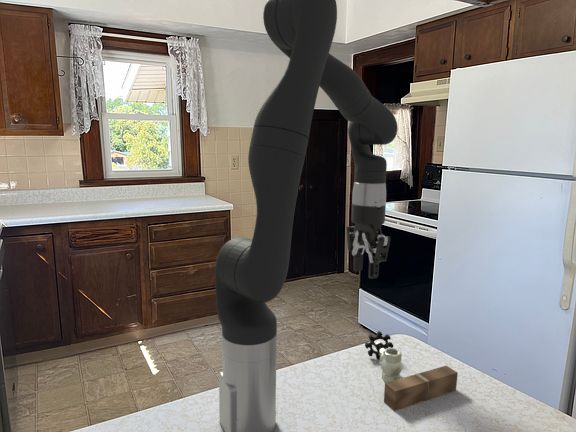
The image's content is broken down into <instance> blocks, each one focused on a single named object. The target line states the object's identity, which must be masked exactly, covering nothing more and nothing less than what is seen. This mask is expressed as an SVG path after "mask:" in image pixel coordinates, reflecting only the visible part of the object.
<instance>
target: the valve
mask: <svg viewBox="0 0 576 432" xmlns="http://www.w3.org/2000/svg"><path fill="white" fill-rule="evenodd" d="M391 338H392V337H391V335H389V334H387V333H386V334H385V335H384V336H383V333H382V331H377V332H376V336H374V335H373V334H369V335H368V339H369V342H367V341H366V342H365V343H364V347H365V349H367V350H368V351H367V355H368V356H369V357H372V356H374V355H375V358H376V359H377V360H380V362H381V379H382V381H383V383H384V384H385V383H387V382H391V381H394V380H398V379H401V375H400V374H401V372H402V369H403V364H402V352H401V350H399V349H397V348H395V347H394V344H393V342H392V341H391ZM377 340H383V341H384V342H385V343H383V342H381V341H377ZM389 340H390V341H389ZM375 341H377V342H375ZM373 346H374V347H375V349H376V350H375V349H373ZM373 354H374V355H373Z"/></svg>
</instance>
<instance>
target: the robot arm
mask: <svg viewBox="0 0 576 432" xmlns="http://www.w3.org/2000/svg"><path fill="white" fill-rule="evenodd" d="M262 18H263V25H264V29H265V32H266V34H267V35H268V37H269V39H270V41H272V43H273V44H274V45H275V46H276V47H277V49H279V50H280V51H281V53H283V54H284V55H285V56H286V57H288V58H289V61H288V64H287V66H286V68H285V71H284V72H283V75H281V77H280V79H279V80H278V82H277V83H276V85H275V87H274V88H273V89H272V90H271V92H270V93H269V95H268V96H267V98H266V99H265V101H264V102H263V103H262V105H261V107H260V108H259V110H258V113H257V115H256V118H255V120H254V123H253V128H252V133H251V138H250V143H249V149H248V169H249V173H250V178H251V179H250V180H251V184H252V187H253V192H254V195H255V203H256V218H255V219H256V220H255V223H254V230H253V236H252V239H251V238H247V237H234V238H232V239H230V240H228V241H226V242H225V243H224V244H223V245H222V246H221V248H220V249H219V252H218V254H217V257H216V259H215V265H214V268H215V269H214V287H215V300H216V313H217V317H218V318H217V319H218V320H219V322H220V326H221V333H222V335H221V336H222V337H221V338H222V339H221V340H222V342H221V346H222V348H221V349H222V352H221V353H222V357H221V358H222V361H221V362H222V371H220V372H219V374H218V389H219V390H218V392H219V393H218V394H219V395H218V398H219V399H218V401H219V402H218V403H219V405H218V406H219V411H218V412H219V424H220V425H221V427H222V430H223V431H224V432H274V430H275V429H276V424H277V423H276V422H277V421H276V417H277V404H276V403H277V341H278V340H277V337H278V335H277V333H278V324H277V323H278V322H277V318H276V315H275V313H274V312H273V311H272V310H271V309H270V308H269V306H268V305H267V304H266V303H268V302H270V301H272V300H274V299H275V298H277V296H278V295H279V294H280V292H281V290H282V289H283V288H284V285H285V282H286V280H287V276H288V272H289V266H290V258H291V257H290V256H291V247H292V235H293V228H294V227H293V226H294V217H295V213H296V212H295V210H296V205H297V204H296V203H297V200H298V195H299V194H298V193H299V187H300V182H301V178H302V177H301V176H302V171H303V167H304V163H305V159H306V154H307V149H308V144H309V140H310V134H311V133H310V132H311V125H312V121H313V116H314V112H315V106H316V103H317V102H316V101H317V96H318V94H319V89H320V88H321V90H322V91H323V92H324V93H325V94H326V96H328V98H329V99H330V100H331V102H332V103H333V104H334V106H335V107H336V109H337V110H338V111H339V112H340V114H341V115H342V116H343V118H344V119H345V120H346V121H348V122H349V123H348V128H347V129H348V130H347V131H348V139H349V142H350V148H351V151H352V157H353V161H354V178H353V187H352V195H351V196H352V198H351V199H352V200H351V202H352V203H351V217H350V218H351V223H352V224H354V225H352V226H350V225H349V226H347V227H346V239H347V250H348V252H351V255H352V256H353V259H352V261H353V263H352V264H353V265H352V267H353V268H352V269H353V271H354V272H362V271H363V267H364V253H365V252H366V253H367V255H368V261H369V262H368V272H367V273H368V274H367V275H368V278H369V279H371V280H373V279H377V278H378V277H379V274H380V263H381V262H387V259H388V255H389V249H390V245H391V240H392V239H391V236H388V235H387V236H385V234H383V232H382V226H383V224H384V223H386V222H385V221H386V208H387V207H386V205H387V184H386V183H387V169H388V168H387V165H388V164H387V159H386V158H385V157H383V156H380V155H377V154H374V153H372V151H371V147H370V145H374V146H376V145H377V146H379V145H380V146H382V145H383V146H384V145H389V144H390V143H392V142H393V141H394V140H395V139H396V137H397V134H398V129H399V128H398V122H397V118H396V117H395V115H394V113H392V111H391V110H390V109H389V108H387V106H385V105H384V104H383V103H382V102H381V101H380V100H378V99H377V98H375V97H374V96H373V95H372V94H371V92H370V90H369V89H368V87H367V86H366V84H365V82H364V80H363V79H362V78H361V76H360V75H359V74H358V73H357V72H356V71H355V70H354V69H353V68H351V67H350V66H349V65H347V64H346V63H344V62H343V61H342V60H340V59H338V58H336V57H335V56H333V55H332V54H331V53H330V51H331V48H332V44H333V41H334V36H335V33H336V28H337V20H338V5H337V0H266V2H265V4H264V8H263V13H262ZM374 254H375V255H374Z"/></svg>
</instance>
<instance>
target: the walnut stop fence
mask: <svg viewBox="0 0 576 432" xmlns="http://www.w3.org/2000/svg"><path fill="white" fill-rule="evenodd" d="M458 373H459V372H457V371H456V370H454V369H453V368H452V367H449V366H447V365H444V366H443V365H442V366H440V367H436V368H433V369H429V370H426V371H423V372H418V373H415V374H412V375H408V376H405V377H400V379H398V380H394V381H391V382H387V383H384V393H383V403H385V405H387V406H388V407H389V408H390V409H391V410H392V411H393V412H395V411H398V410H401V409H404V408H408V407H410V406H413V405H417V404H419V403H422V402H427V401H428V400H429V401H430V400H431V399H436V398H438V397H440V396H441V397H442V396H444V395H447V394H450V393H453V392H455V391H457V384H458Z"/></svg>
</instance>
